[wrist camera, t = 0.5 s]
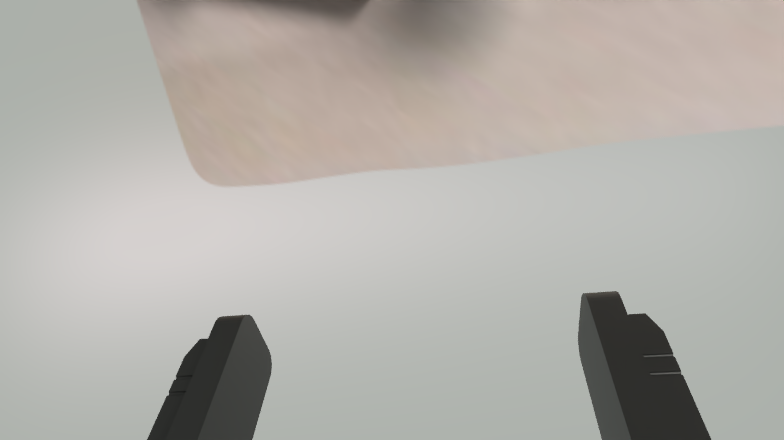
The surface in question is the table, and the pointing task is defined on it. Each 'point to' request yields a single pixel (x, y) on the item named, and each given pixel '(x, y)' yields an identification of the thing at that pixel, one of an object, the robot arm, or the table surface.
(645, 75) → the table surface
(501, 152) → the table surface
